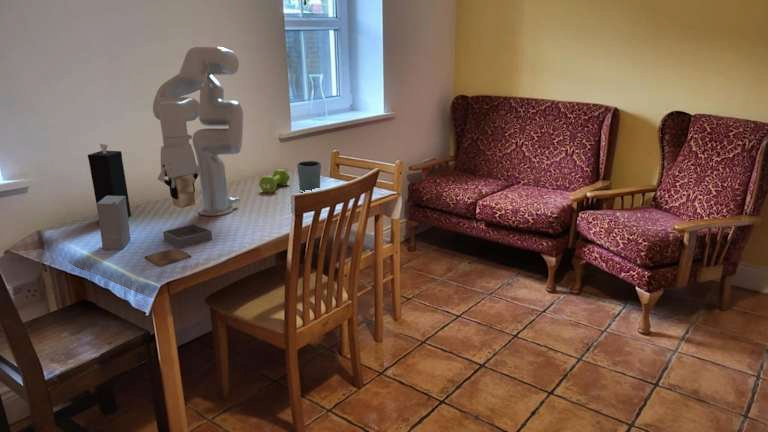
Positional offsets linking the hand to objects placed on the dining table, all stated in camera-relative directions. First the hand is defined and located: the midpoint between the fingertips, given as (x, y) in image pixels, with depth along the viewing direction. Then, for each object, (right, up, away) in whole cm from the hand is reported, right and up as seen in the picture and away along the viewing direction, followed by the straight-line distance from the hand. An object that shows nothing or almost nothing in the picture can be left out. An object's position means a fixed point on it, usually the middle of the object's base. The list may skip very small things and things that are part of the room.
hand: (183, 195), depth 184 cm
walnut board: (-1, -19, -11) cm, 22 cm away
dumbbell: (+17, +5, +65) cm, 67 cm away
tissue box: (-34, -8, +26) cm, 44 cm away
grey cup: (+33, +4, +61) cm, 69 cm away
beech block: (0, -3, +1) cm, 3 cm away
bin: (0, -14, +4) cm, 15 cm away
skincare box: (-21, -16, 0) cm, 26 cm away
